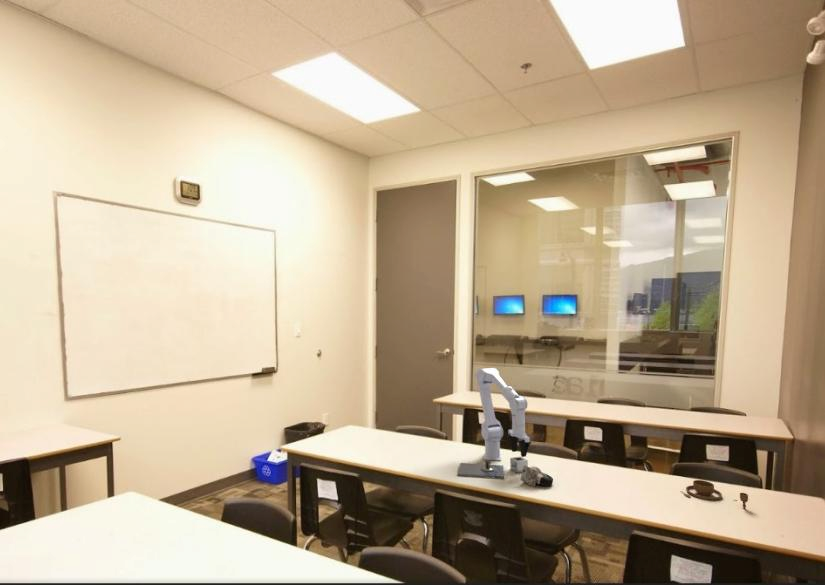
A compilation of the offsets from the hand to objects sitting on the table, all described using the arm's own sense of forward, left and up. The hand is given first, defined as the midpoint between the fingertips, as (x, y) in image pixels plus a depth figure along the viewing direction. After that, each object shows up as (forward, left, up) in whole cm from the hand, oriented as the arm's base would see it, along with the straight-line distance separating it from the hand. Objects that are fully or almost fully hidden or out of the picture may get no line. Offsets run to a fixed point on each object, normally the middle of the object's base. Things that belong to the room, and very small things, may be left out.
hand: (518, 453), depth 203 cm
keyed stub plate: (+5, -17, -7) cm, 19 cm away
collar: (0, 0, -7) cm, 7 cm away
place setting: (+18, +72, -8) cm, 74 cm away
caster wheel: (+14, +7, -8) cm, 18 cm away
